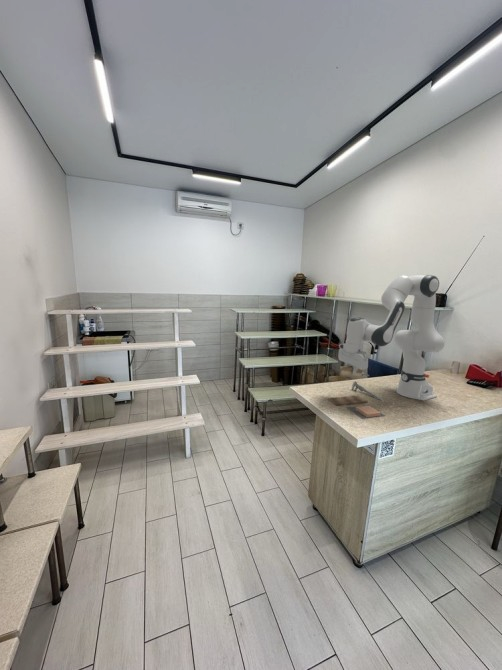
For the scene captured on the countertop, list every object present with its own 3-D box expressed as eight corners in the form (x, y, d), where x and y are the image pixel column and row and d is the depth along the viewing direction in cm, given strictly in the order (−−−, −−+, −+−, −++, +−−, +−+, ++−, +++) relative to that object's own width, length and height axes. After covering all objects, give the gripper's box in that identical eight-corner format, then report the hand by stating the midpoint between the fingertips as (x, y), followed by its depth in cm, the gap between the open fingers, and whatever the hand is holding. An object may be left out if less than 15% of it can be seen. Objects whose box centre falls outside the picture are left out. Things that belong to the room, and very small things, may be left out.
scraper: (338, 374, 139) (339, 365, 138) (362, 373, 144) (363, 364, 143) (344, 377, 135) (345, 368, 134) (369, 376, 139) (370, 367, 138)
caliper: (351, 390, 160) (352, 380, 159) (352, 389, 160) (353, 380, 159) (383, 402, 143) (385, 392, 142) (384, 402, 144) (386, 391, 143)
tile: (368, 405, 132) (380, 412, 125) (368, 408, 133) (380, 416, 125) (355, 406, 130) (367, 414, 123) (355, 410, 130) (366, 417, 123)
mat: (368, 406, 137) (368, 405, 137) (385, 416, 126) (385, 416, 125) (346, 408, 133) (346, 407, 133) (362, 419, 122) (362, 418, 122)
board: (357, 397, 148) (358, 395, 148) (367, 403, 140) (367, 401, 140) (327, 400, 142) (327, 398, 142) (336, 406, 135) (336, 404, 134)
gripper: (372, 352, 127) (369, 378, 129) (346, 343, 146) (344, 367, 149) (362, 352, 125) (359, 379, 128) (337, 344, 145) (334, 367, 147)
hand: (350, 372), depth 138 cm, fingers closed on scraper, 3 cm apart
